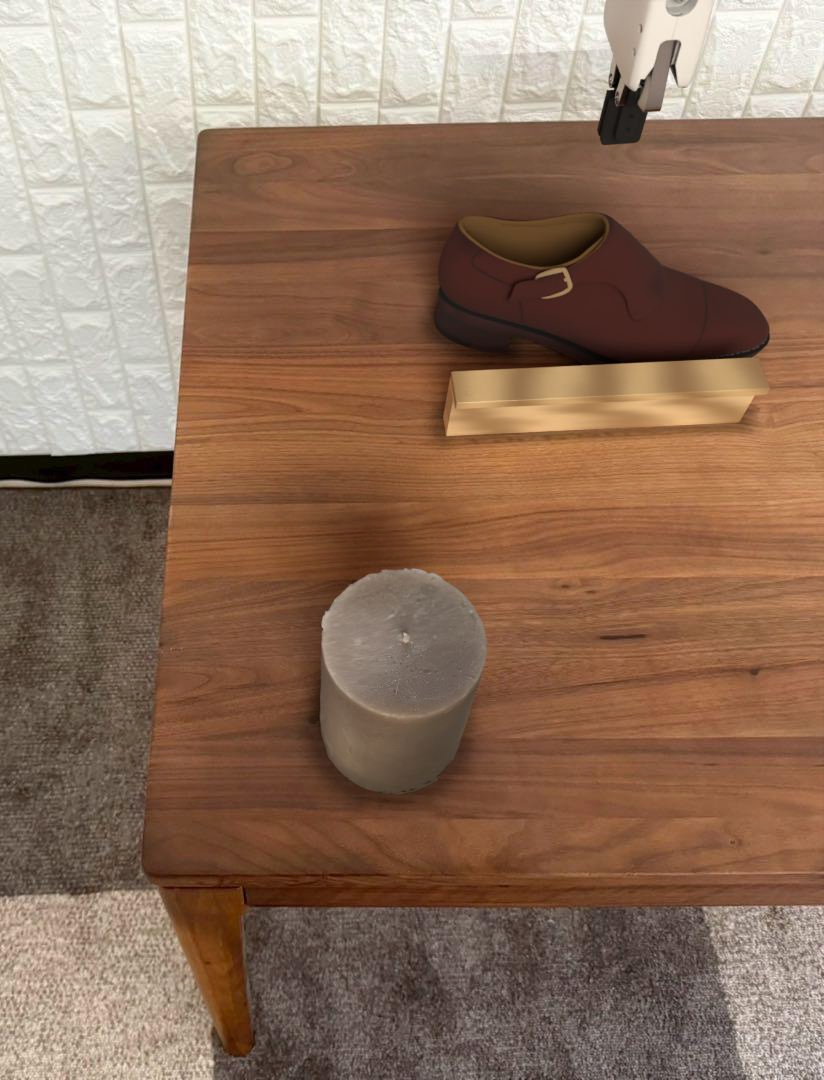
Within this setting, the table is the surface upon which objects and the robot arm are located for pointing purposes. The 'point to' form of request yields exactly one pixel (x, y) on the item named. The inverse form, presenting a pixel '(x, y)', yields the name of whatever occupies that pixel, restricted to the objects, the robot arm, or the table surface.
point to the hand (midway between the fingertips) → (617, 137)
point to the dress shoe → (584, 295)
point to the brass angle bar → (602, 396)
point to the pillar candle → (398, 678)
